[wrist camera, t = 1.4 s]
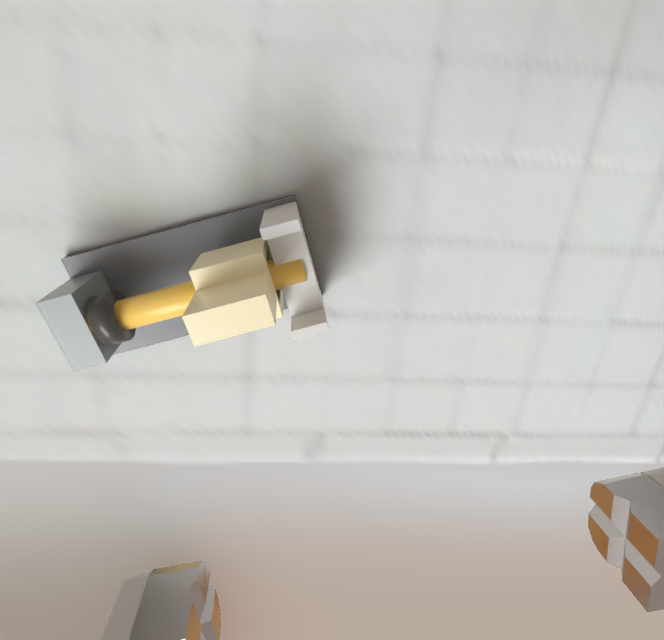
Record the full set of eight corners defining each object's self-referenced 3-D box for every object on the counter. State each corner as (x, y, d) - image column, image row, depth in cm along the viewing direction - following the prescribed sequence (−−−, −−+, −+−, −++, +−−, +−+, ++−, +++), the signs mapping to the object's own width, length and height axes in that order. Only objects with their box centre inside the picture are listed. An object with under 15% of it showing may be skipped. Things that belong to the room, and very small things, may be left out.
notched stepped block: (265, 236, 27) (258, 272, 20) (283, 293, 29) (282, 344, 22) (201, 253, 27) (172, 295, 21) (222, 309, 29) (202, 366, 22)
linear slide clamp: (294, 194, 29) (296, 213, 22) (322, 296, 31) (330, 336, 25) (65, 256, 29) (6, 291, 23) (113, 351, 31) (71, 405, 25)
